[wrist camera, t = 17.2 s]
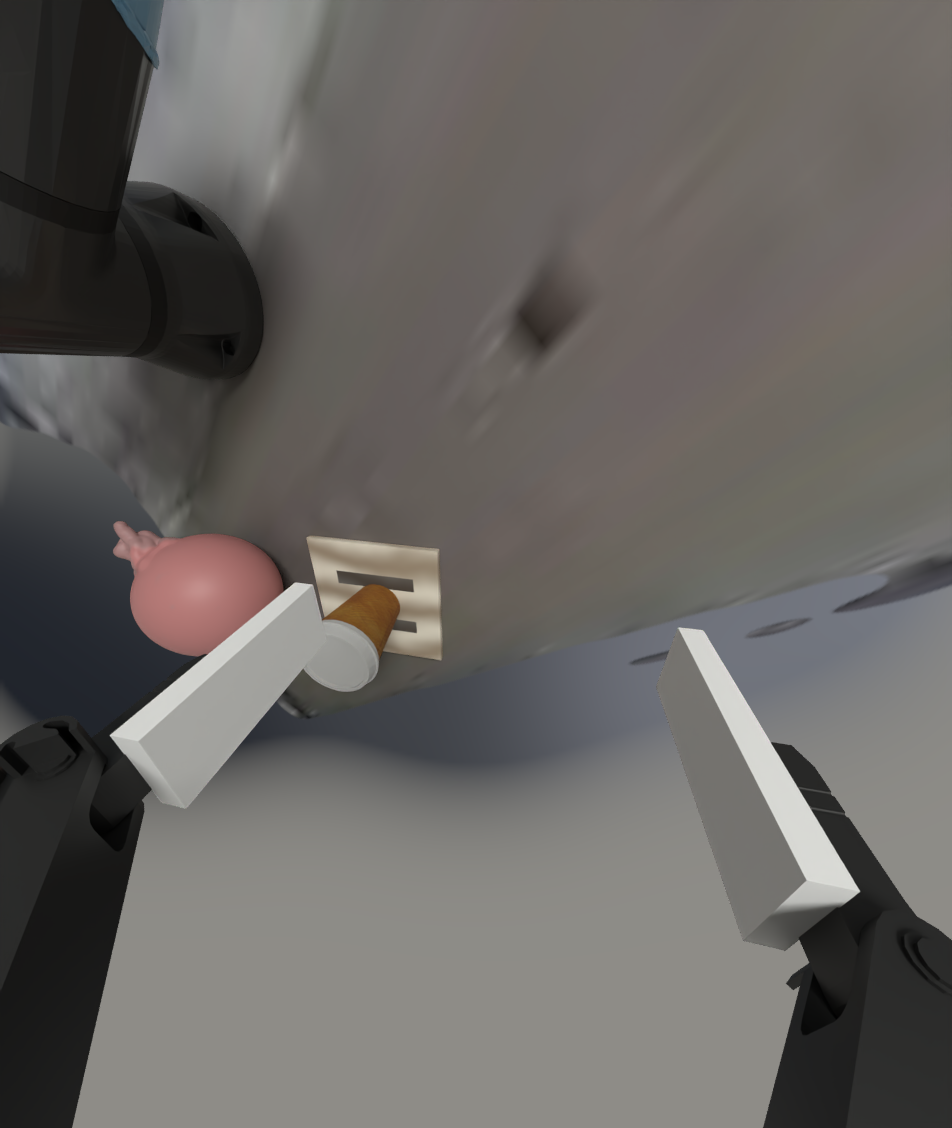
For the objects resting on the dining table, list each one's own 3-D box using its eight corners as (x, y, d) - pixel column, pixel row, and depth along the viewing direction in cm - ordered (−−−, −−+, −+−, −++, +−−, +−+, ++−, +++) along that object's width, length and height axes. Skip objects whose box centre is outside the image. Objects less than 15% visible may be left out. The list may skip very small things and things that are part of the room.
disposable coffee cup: (342, 613, 51) (289, 673, 41) (354, 562, 47) (297, 615, 36) (401, 639, 52) (363, 706, 41) (419, 591, 47) (381, 652, 37)
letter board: (310, 535, 47) (306, 538, 46) (439, 549, 44) (437, 551, 44) (333, 639, 56) (330, 642, 55) (442, 656, 53) (441, 660, 52)
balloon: (222, 465, 45) (82, 503, 31) (327, 585, 51) (247, 660, 37) (166, 521, 51) (29, 572, 37) (266, 622, 57) (178, 697, 43)
